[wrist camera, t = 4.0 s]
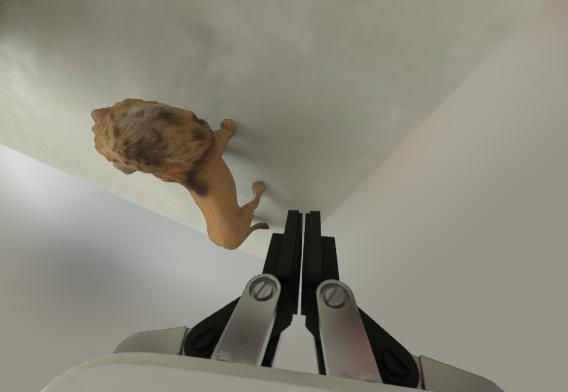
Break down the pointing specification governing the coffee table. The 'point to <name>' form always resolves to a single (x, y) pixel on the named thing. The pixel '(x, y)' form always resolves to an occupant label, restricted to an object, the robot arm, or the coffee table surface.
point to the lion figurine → (179, 160)
